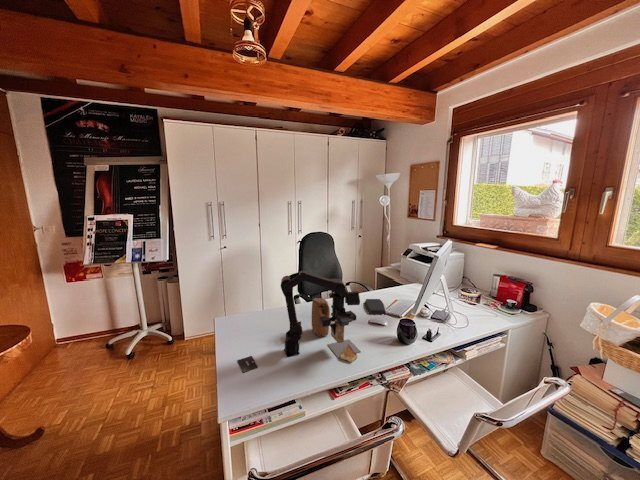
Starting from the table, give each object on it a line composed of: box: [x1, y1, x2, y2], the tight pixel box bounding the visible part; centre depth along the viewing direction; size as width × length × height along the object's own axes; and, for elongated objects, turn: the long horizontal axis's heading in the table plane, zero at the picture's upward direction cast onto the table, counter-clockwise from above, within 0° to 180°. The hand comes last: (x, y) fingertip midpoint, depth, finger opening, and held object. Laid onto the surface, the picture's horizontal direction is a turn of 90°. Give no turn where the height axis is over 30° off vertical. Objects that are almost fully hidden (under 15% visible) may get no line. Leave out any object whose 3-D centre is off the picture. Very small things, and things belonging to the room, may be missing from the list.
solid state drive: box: [236, 355, 259, 374], centre depth 123 cm, size 7×10×1 cm
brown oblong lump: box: [311, 297, 331, 337], centre depth 149 cm, size 11×8×20 cm
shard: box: [340, 344, 358, 363], centre depth 130 cm, size 11×8×2 cm
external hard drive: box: [364, 298, 388, 316], centre depth 183 cm, size 13×19×4 cm
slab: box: [330, 321, 345, 343], centre depth 132 cm, size 3×8×9 cm, turn 24°
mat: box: [327, 338, 361, 359], centre depth 136 cm, size 13×12×1 cm
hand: (337, 333), depth 133 cm, fingers closed on slab, 3 cm apart
